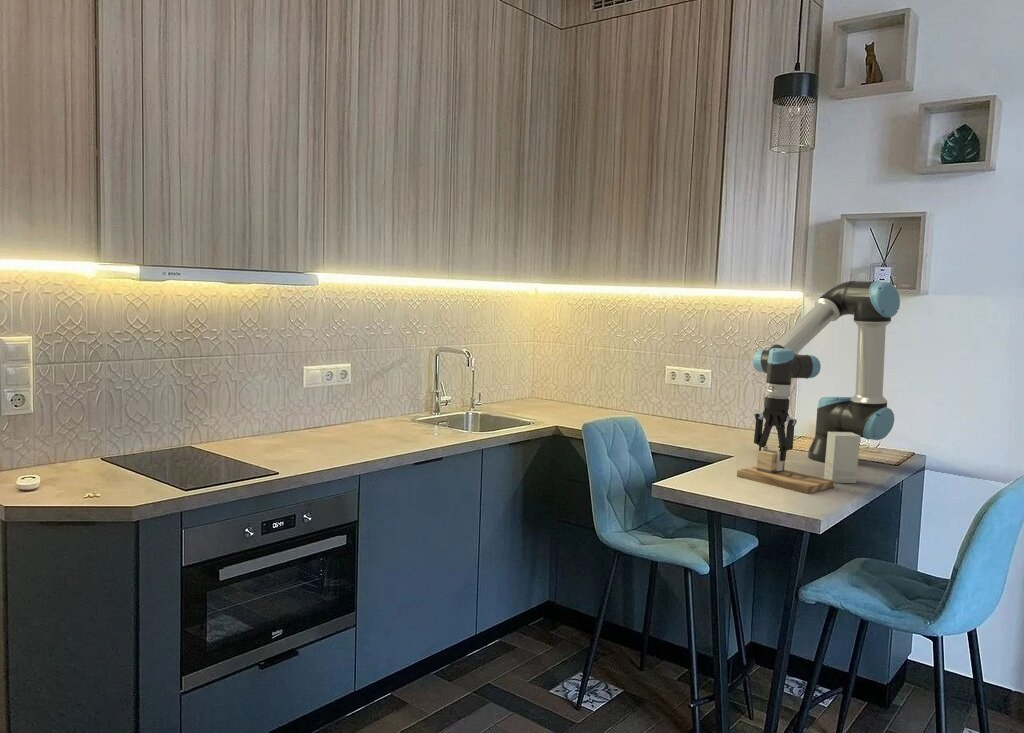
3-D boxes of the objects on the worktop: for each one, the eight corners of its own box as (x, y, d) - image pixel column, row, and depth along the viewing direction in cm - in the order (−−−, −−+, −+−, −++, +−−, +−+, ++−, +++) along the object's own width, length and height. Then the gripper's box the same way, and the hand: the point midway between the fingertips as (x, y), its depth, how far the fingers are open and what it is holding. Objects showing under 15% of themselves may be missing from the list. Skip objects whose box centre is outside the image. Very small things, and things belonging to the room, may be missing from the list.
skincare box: (847, 479, 255) (852, 432, 254) (857, 484, 249) (862, 435, 247) (822, 478, 255) (826, 430, 254) (831, 483, 249) (835, 434, 247)
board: (763, 470, 261) (764, 464, 261) (833, 487, 243) (834, 480, 243) (736, 476, 251) (737, 470, 250) (807, 493, 233) (807, 487, 232)
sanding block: (770, 467, 257) (771, 449, 256) (784, 470, 253) (785, 452, 253) (756, 469, 252) (758, 451, 251) (770, 473, 248) (772, 454, 247)
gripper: (745, 393, 255) (739, 464, 257) (797, 401, 241) (790, 476, 243) (758, 392, 260) (752, 461, 262) (809, 400, 246) (803, 473, 248)
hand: (770, 468), depth 253 cm, fingers closed on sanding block, 5 cm apart
